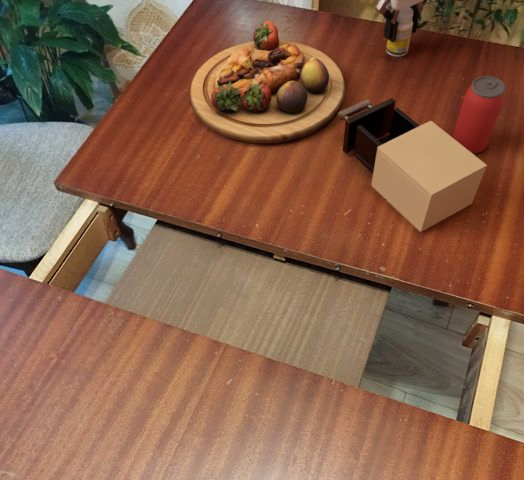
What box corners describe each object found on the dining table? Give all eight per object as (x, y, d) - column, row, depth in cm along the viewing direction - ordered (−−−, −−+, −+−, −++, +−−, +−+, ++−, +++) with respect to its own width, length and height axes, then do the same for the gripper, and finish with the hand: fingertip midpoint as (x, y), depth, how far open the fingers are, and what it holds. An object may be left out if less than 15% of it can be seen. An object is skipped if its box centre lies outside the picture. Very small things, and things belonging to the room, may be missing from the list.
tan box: (371, 185, 98) (377, 146, 91) (420, 160, 101) (430, 120, 94) (420, 232, 92) (431, 194, 85) (471, 203, 95) (487, 165, 88)
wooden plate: (218, 41, 123) (214, 3, 116) (357, 58, 118) (362, 19, 110) (169, 133, 108) (160, 96, 101) (325, 157, 102) (328, 119, 95)
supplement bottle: (392, 42, 120) (399, 2, 113) (411, 48, 118) (419, 8, 111) (381, 53, 118) (387, 13, 111) (401, 60, 117) (408, 20, 109)
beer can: (494, 146, 102) (517, 87, 92) (468, 160, 100) (488, 103, 90) (468, 127, 105) (488, 69, 94) (443, 141, 103) (460, 83, 93)
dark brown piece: (328, 137, 104) (330, 105, 98) (371, 116, 106) (375, 84, 101) (384, 189, 96) (390, 159, 91) (429, 166, 99) (438, 135, 93)
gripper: (393, -43, 96) (379, 57, 111) (466, -72, 100) (442, 28, 115) (367, -59, 99) (356, 40, 115) (438, -87, 103) (419, 13, 119)
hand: (399, 33), depth 115 cm, fingers closed on supplement bottle, 4 cm apart
